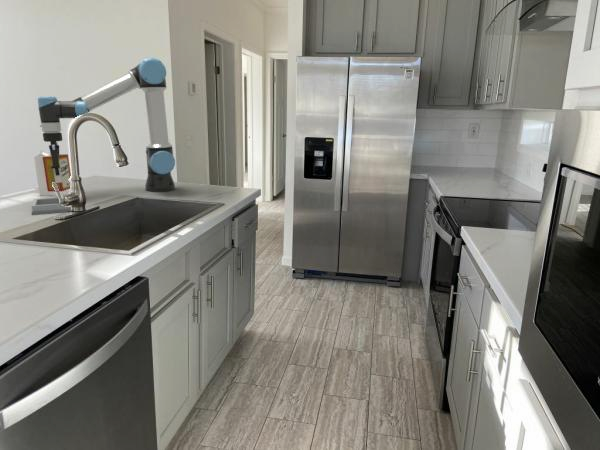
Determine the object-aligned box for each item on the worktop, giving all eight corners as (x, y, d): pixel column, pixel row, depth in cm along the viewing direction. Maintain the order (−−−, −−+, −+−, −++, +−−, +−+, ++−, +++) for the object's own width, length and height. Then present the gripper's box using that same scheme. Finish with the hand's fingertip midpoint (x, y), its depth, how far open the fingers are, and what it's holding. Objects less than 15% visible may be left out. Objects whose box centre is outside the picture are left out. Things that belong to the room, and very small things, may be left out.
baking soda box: (62, 191, 202) (56, 156, 198) (47, 191, 202) (42, 156, 198) (72, 187, 211) (67, 153, 207) (58, 187, 211) (53, 153, 207)
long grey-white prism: (39, 196, 216) (32, 150, 210) (42, 193, 222) (35, 149, 216) (53, 195, 218) (47, 150, 212) (56, 193, 224) (49, 148, 218)
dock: (72, 203, 202) (72, 196, 201) (73, 211, 188) (72, 203, 187) (34, 206, 195) (33, 198, 194) (32, 214, 181) (30, 206, 180)
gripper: (43, 130, 208) (50, 177, 214) (40, 134, 188) (48, 185, 194) (61, 130, 212) (68, 175, 218) (60, 133, 191) (68, 183, 197)
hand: (59, 180), depth 206 cm, fingers closed on baking soda box, 11 cm apart
